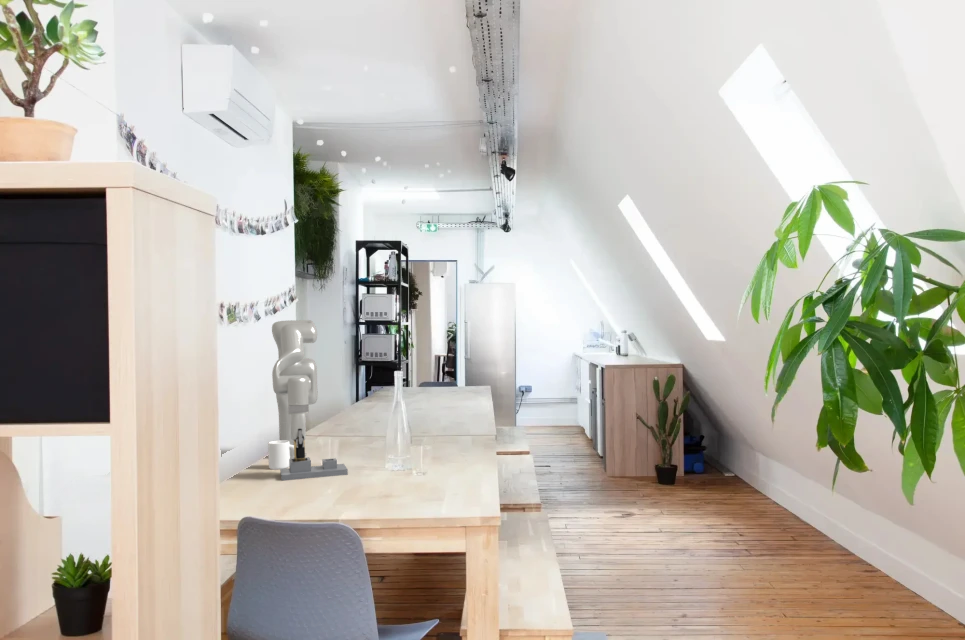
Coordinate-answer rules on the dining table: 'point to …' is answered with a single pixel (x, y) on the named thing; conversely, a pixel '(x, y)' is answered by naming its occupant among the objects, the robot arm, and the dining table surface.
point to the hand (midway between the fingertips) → (299, 455)
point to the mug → (279, 454)
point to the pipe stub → (295, 452)
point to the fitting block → (312, 469)
